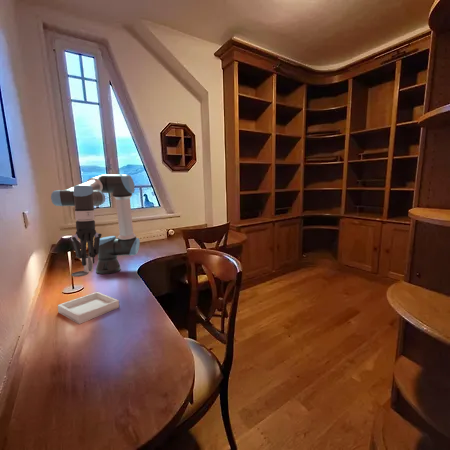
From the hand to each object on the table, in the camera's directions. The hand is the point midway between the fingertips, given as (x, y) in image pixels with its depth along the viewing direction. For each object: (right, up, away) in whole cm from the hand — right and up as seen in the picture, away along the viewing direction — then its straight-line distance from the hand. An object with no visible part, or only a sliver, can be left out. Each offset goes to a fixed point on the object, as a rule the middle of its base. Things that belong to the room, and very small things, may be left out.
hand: (88, 271), depth 115 cm
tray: (+1, -17, -1) cm, 17 cm away
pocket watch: (-2, -1, -2) cm, 3 cm away
